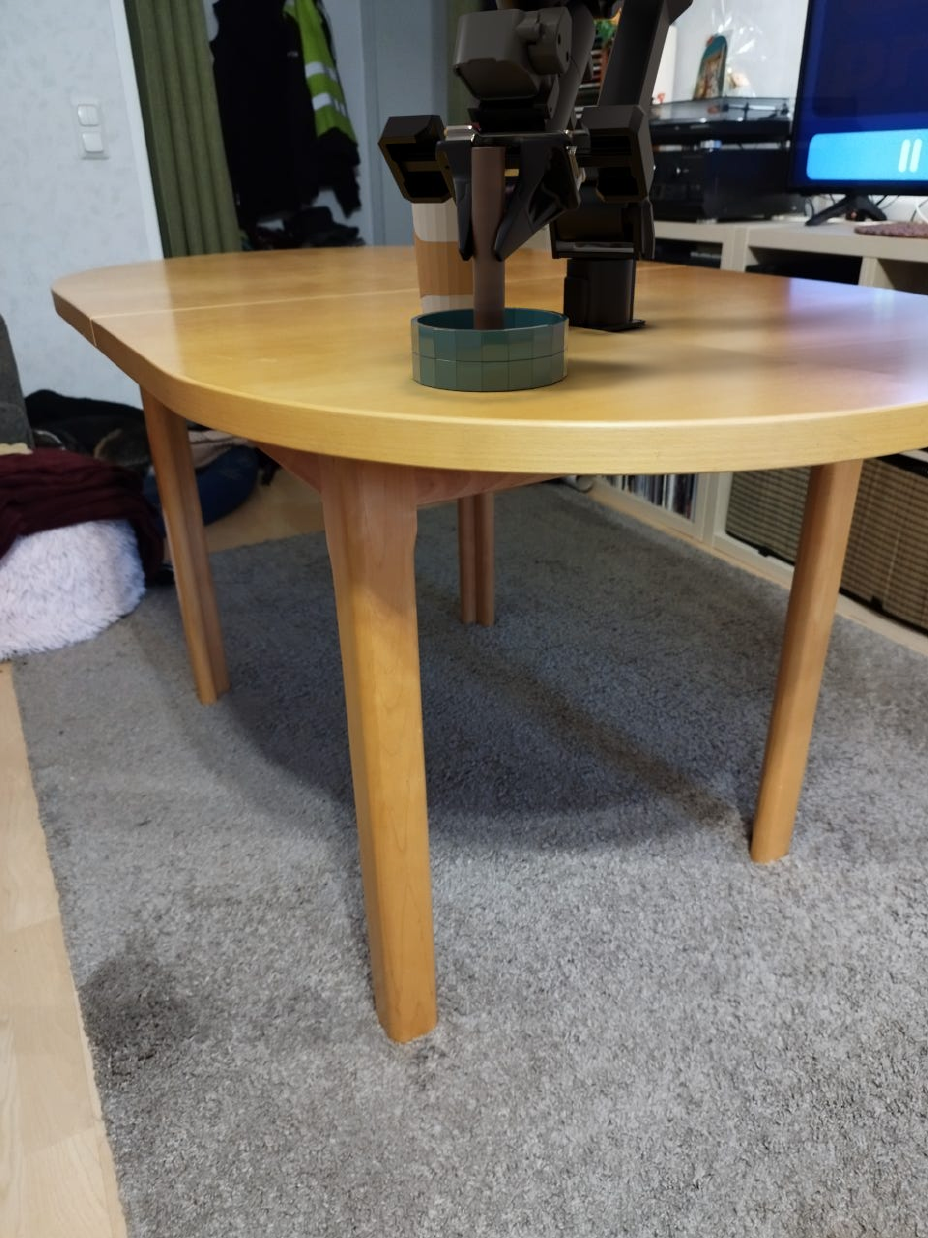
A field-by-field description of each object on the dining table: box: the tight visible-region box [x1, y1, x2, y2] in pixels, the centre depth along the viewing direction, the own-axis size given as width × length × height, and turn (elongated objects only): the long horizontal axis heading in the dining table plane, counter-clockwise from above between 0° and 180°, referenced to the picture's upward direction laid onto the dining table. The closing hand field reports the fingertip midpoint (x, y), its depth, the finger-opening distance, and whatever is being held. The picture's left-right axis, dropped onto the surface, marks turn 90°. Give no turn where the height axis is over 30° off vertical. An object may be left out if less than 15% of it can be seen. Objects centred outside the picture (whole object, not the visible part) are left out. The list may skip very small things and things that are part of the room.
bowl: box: [410, 306, 569, 392], centre depth 63 cm, size 11×11×4 cm
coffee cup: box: [411, 198, 473, 314], centre depth 82 cm, size 8×8×15 cm
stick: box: [471, 147, 506, 330], centre depth 61 cm, size 4×4×14 cm
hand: (480, 256), depth 59 cm, fingers closed on stick, 2 cm apart
